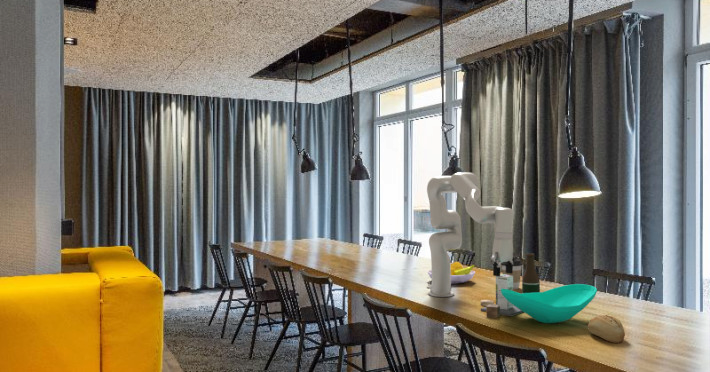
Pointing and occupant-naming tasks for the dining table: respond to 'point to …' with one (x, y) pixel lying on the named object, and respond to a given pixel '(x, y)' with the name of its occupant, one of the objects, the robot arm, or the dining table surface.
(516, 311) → the felt pad
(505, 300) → the syrup box
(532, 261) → the beer bottle
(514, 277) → the coffee cup
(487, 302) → the cork disc
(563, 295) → the table top decor
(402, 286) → the dining table surface
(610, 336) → the bread roll
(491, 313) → the walnut cube
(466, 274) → the fruit bowl
